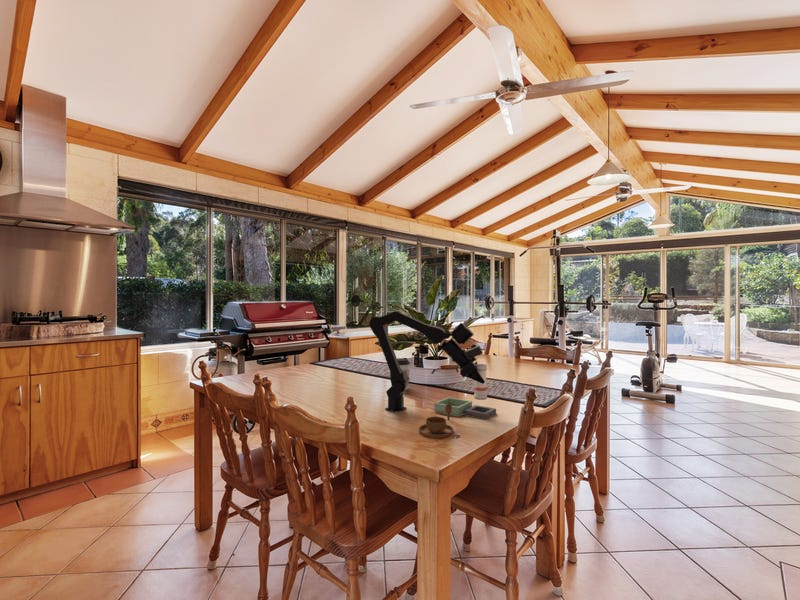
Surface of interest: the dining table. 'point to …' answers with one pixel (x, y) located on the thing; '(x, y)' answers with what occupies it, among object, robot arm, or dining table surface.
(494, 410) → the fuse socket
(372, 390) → the dining table surface
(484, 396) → the fuse
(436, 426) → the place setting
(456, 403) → the parts tray
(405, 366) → the coffee cup
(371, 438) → the dining table surface
